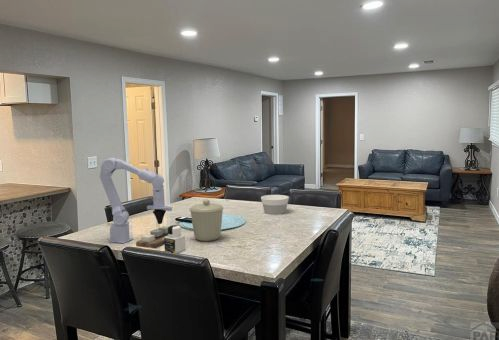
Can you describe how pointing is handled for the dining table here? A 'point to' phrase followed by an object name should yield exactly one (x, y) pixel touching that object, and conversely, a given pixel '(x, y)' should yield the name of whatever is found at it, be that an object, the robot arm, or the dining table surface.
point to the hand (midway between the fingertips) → (160, 223)
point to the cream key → (148, 238)
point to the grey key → (156, 232)
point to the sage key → (164, 229)
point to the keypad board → (153, 242)
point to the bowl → (275, 204)
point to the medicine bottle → (174, 240)
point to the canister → (206, 220)
